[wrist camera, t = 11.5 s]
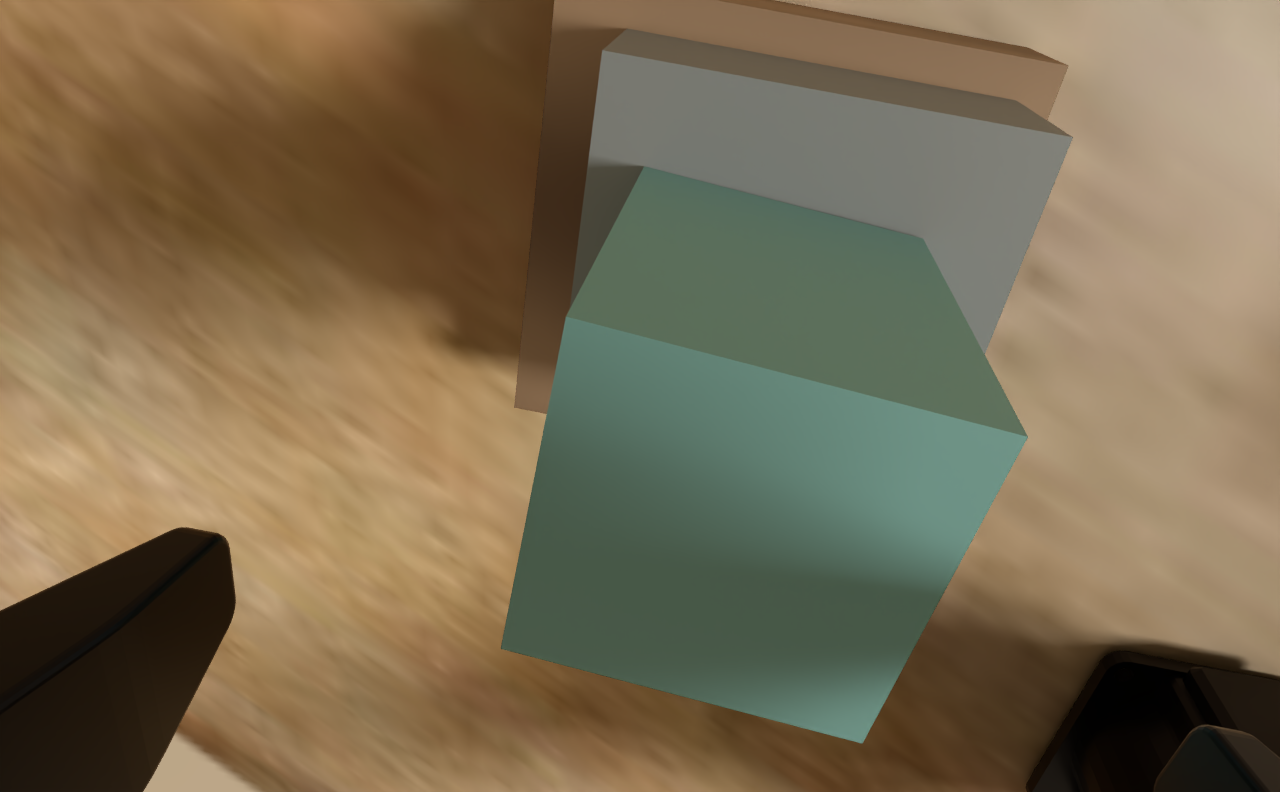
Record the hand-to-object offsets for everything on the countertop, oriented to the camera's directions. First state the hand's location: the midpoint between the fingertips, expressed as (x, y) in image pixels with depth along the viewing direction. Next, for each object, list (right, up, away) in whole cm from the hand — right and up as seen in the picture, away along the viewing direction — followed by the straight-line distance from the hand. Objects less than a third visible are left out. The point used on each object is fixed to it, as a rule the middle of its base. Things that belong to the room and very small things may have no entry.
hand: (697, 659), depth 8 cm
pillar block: (+1, +4, +6) cm, 8 cm away
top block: (+2, +5, +9) cm, 11 cm away
